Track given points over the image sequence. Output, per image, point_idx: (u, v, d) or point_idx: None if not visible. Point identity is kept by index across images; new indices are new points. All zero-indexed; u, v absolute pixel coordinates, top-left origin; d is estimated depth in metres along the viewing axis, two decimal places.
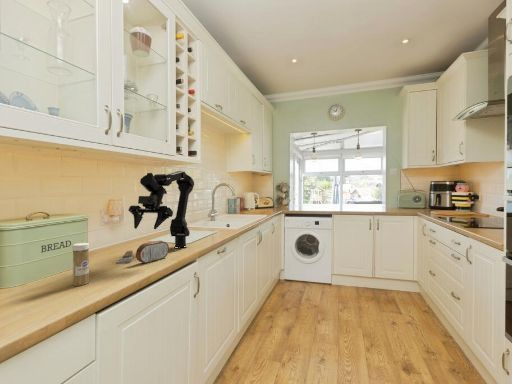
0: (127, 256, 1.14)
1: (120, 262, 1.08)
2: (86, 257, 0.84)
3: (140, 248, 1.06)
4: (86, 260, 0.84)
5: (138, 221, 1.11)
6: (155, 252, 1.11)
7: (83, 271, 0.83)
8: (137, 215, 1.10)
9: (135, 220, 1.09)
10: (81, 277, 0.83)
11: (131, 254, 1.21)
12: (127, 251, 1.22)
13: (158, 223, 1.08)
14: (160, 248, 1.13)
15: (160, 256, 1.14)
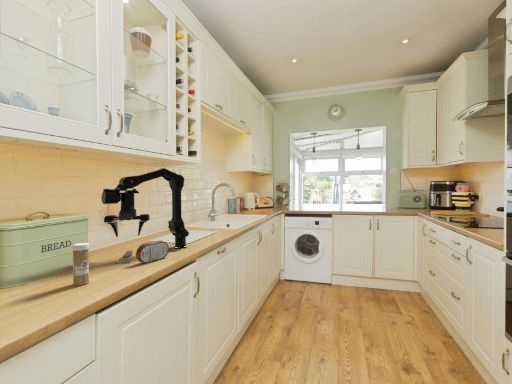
0: (127, 256, 1.14)
1: (120, 262, 1.08)
2: (86, 257, 0.84)
3: (140, 248, 1.06)
4: (86, 260, 0.84)
5: (117, 229, 1.18)
6: (155, 252, 1.11)
7: (83, 271, 0.83)
8: (115, 225, 1.16)
9: (115, 230, 1.16)
10: (81, 277, 0.83)
11: (131, 254, 1.21)
12: (127, 251, 1.22)
13: (140, 230, 1.20)
14: (160, 248, 1.13)
15: (160, 256, 1.14)
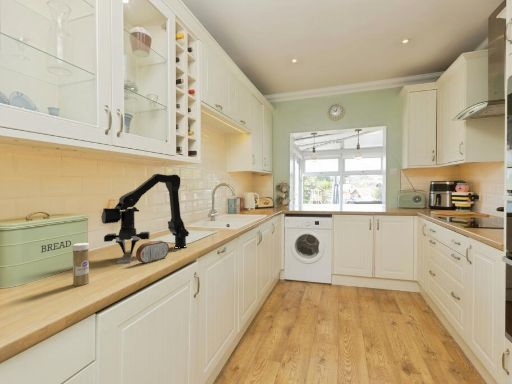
0: (127, 256, 1.14)
1: (120, 262, 1.08)
2: (86, 257, 0.84)
3: (140, 248, 1.06)
4: (86, 260, 0.84)
5: (124, 247, 1.19)
6: (155, 252, 1.11)
7: (83, 271, 0.83)
8: (123, 243, 1.17)
9: (123, 248, 1.17)
10: (81, 277, 0.83)
11: None
12: (127, 251, 1.22)
13: (133, 248, 1.19)
14: (160, 248, 1.13)
15: (160, 256, 1.14)
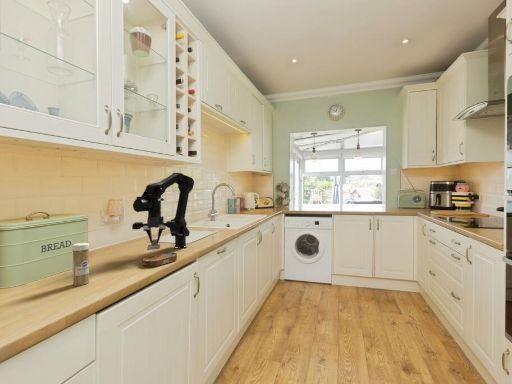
0: (155, 243, 1.16)
1: (150, 248, 1.10)
2: (86, 257, 0.84)
3: (150, 264, 1.02)
4: (86, 260, 0.84)
5: (151, 235, 1.20)
6: None
7: (83, 271, 0.83)
8: (150, 231, 1.19)
9: (150, 236, 1.19)
10: (81, 277, 0.83)
11: None
12: (153, 239, 1.23)
13: (159, 237, 1.21)
14: None
15: None
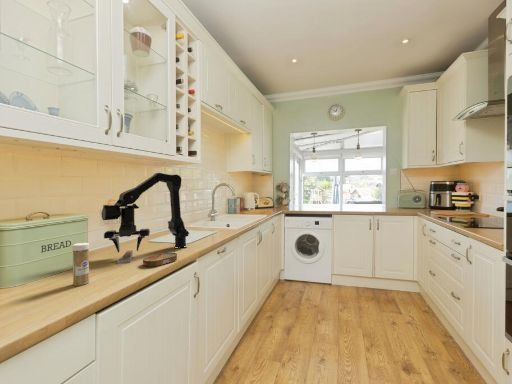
0: (127, 256, 1.14)
1: (120, 262, 1.08)
2: (86, 257, 0.84)
3: (150, 264, 1.02)
4: (86, 260, 0.84)
5: (118, 244, 1.18)
6: None
7: (83, 271, 0.83)
8: (117, 240, 1.16)
9: (117, 245, 1.16)
10: (81, 277, 0.83)
11: (131, 254, 1.21)
12: (127, 251, 1.22)
13: (139, 245, 1.20)
14: None
15: None
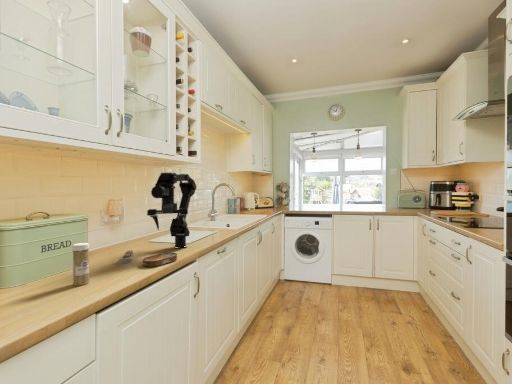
0: (127, 256, 1.14)
1: (120, 262, 1.08)
2: (86, 257, 0.84)
3: (150, 264, 1.02)
4: (86, 260, 0.84)
5: None
6: None
7: (83, 271, 0.83)
8: (157, 218, 1.22)
9: (157, 223, 1.22)
10: (81, 277, 0.83)
11: (131, 254, 1.21)
12: (127, 251, 1.22)
13: (179, 223, 1.27)
14: None
15: None
